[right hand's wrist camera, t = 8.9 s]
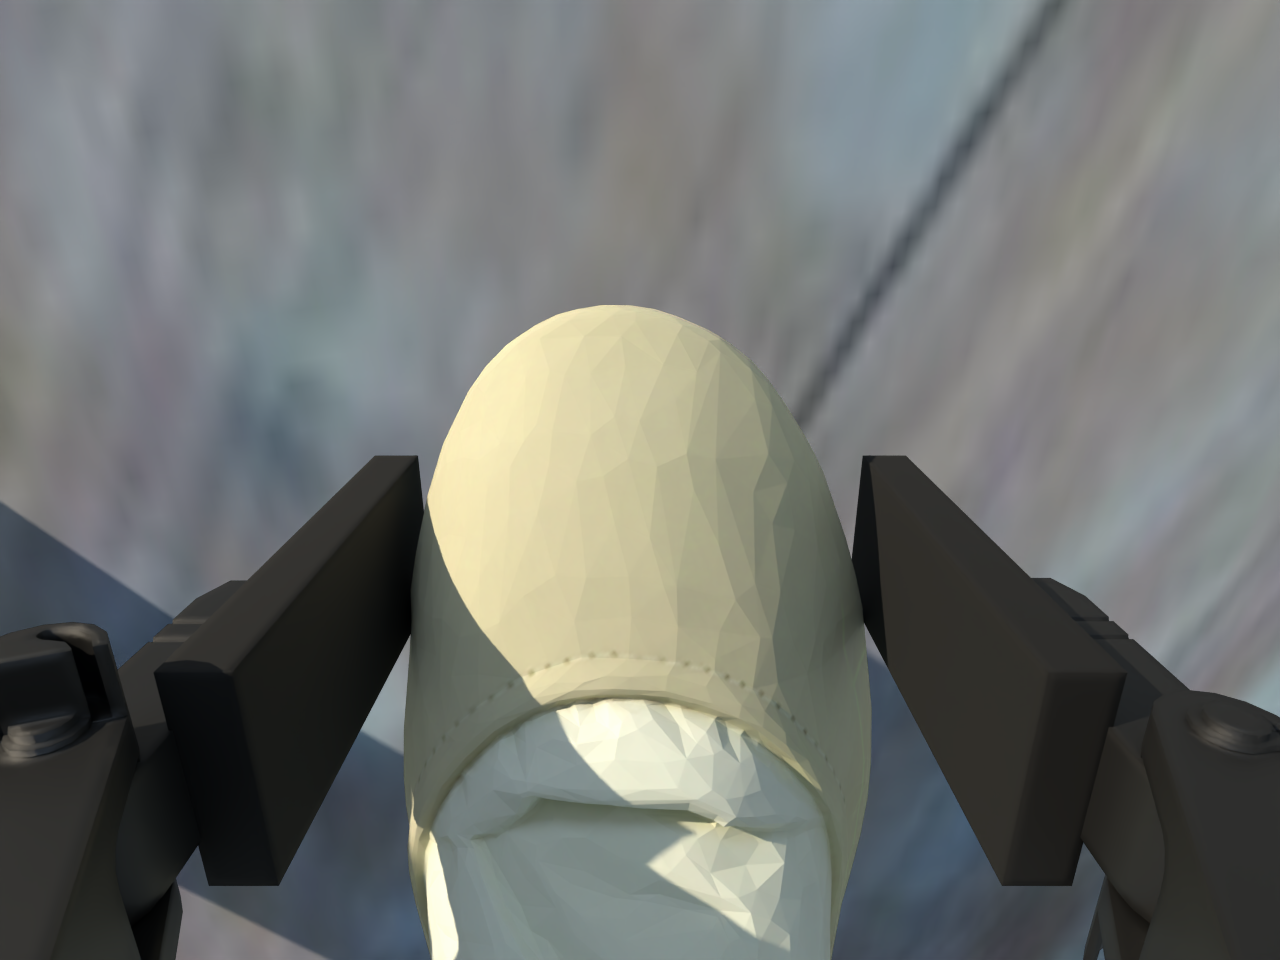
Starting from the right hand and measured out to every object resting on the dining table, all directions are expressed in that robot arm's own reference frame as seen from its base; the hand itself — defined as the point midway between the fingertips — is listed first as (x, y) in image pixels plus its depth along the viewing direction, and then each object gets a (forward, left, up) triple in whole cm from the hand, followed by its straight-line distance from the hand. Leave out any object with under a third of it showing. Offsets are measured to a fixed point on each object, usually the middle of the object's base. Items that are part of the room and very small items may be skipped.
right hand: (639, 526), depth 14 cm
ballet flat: (0, +8, -1) cm, 8 cm away
